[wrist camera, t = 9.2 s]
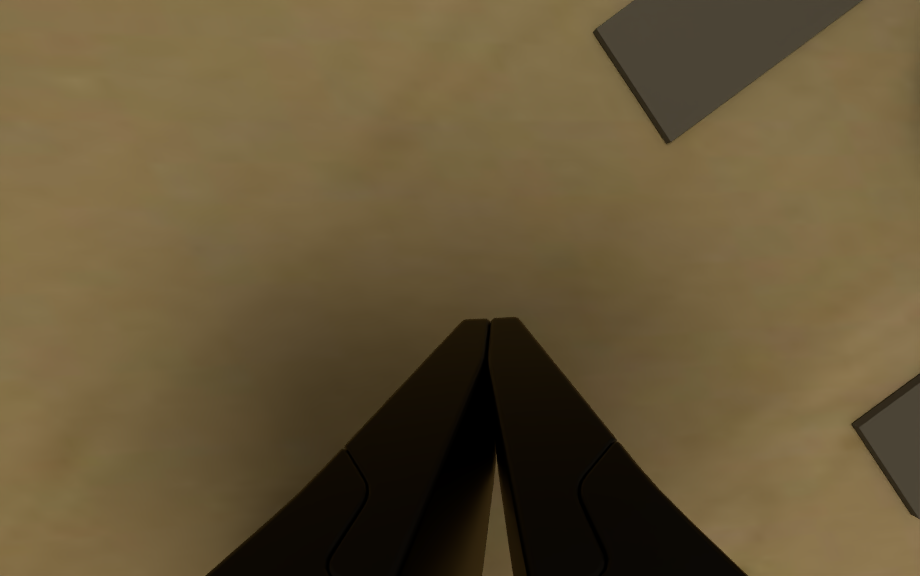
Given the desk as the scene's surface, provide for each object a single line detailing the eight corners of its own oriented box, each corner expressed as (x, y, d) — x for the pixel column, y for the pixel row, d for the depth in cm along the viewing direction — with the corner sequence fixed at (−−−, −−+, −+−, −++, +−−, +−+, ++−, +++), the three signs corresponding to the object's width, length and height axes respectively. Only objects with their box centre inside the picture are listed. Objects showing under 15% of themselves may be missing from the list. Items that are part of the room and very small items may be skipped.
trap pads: (911, 514, 24) (919, 519, 24) (593, 32, 21) (596, 28, 21) (1122, 360, 24) (1133, 362, 24) (832, -146, 21) (840, -154, 21)
